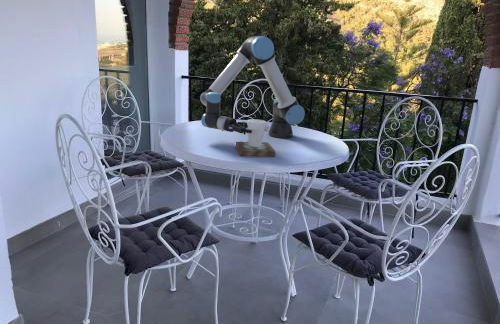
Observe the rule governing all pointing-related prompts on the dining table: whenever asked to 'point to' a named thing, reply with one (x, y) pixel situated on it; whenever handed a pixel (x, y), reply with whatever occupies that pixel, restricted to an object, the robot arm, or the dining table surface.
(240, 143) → the walnut base
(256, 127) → the foam cup
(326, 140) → the dining table surface
